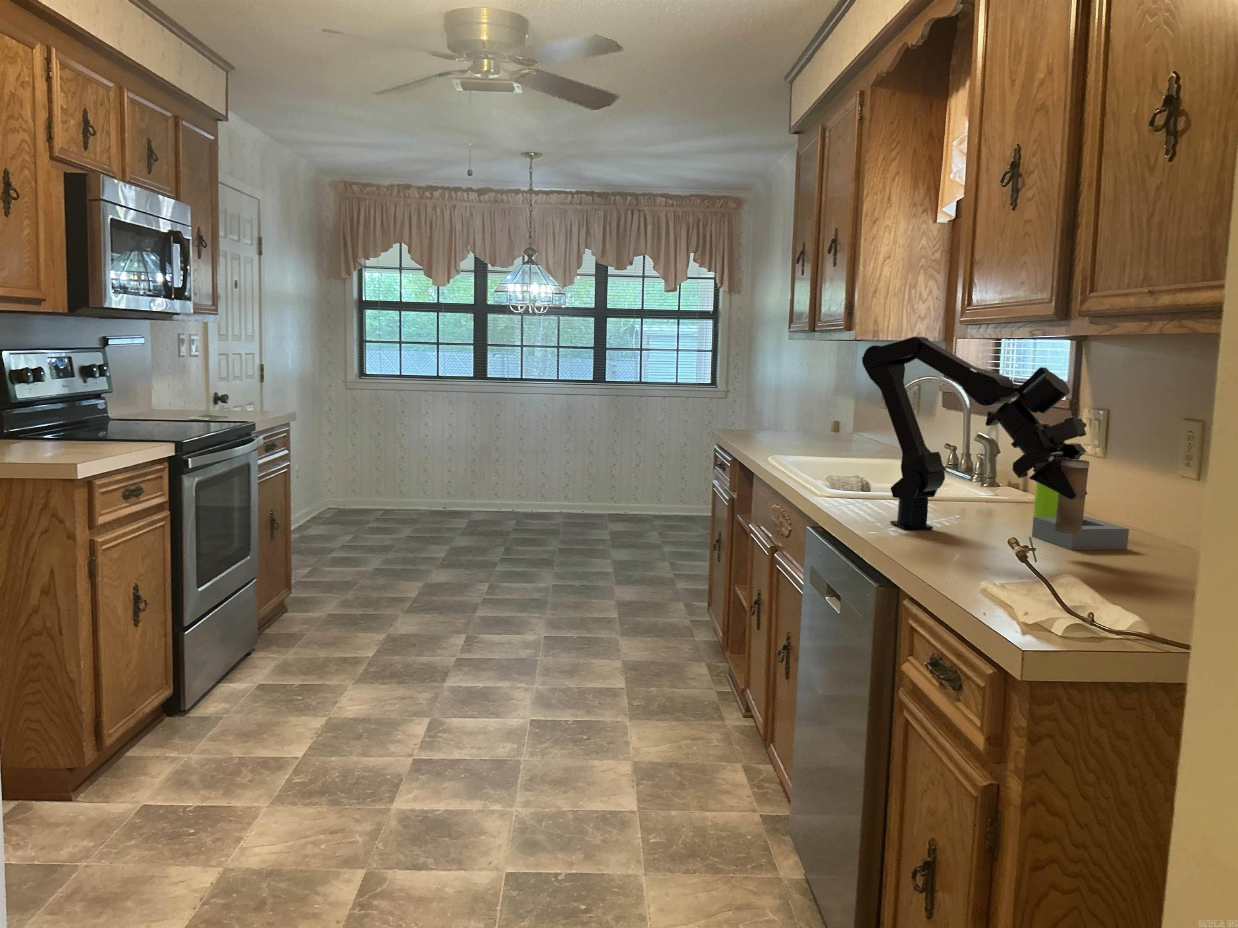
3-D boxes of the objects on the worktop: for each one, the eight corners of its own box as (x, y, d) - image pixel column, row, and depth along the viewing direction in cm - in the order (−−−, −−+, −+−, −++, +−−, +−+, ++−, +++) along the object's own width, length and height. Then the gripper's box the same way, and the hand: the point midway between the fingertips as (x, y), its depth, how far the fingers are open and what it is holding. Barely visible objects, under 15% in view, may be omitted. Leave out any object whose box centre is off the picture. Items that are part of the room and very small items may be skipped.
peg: (1049, 528, 170) (1056, 458, 168) (1070, 528, 171) (1078, 459, 169) (1065, 534, 166) (1072, 462, 164) (1087, 533, 167) (1095, 462, 165)
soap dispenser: (1038, 518, 207) (1047, 429, 204) (1067, 523, 201) (1077, 432, 199) (1022, 520, 204) (1031, 429, 201) (1051, 526, 198) (1060, 433, 196)
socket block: (1031, 536, 187) (1033, 516, 186) (1084, 535, 189) (1086, 516, 188) (1071, 549, 175) (1073, 529, 174) (1126, 549, 177) (1129, 528, 177)
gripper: (1036, 402, 162) (1095, 473, 155) (1080, 400, 174) (1136, 466, 168) (988, 442, 169) (1043, 511, 162) (1034, 437, 181) (1086, 501, 175)
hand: (1079, 496), depth 167 cm, fingers closed on peg, 4 cm apart
